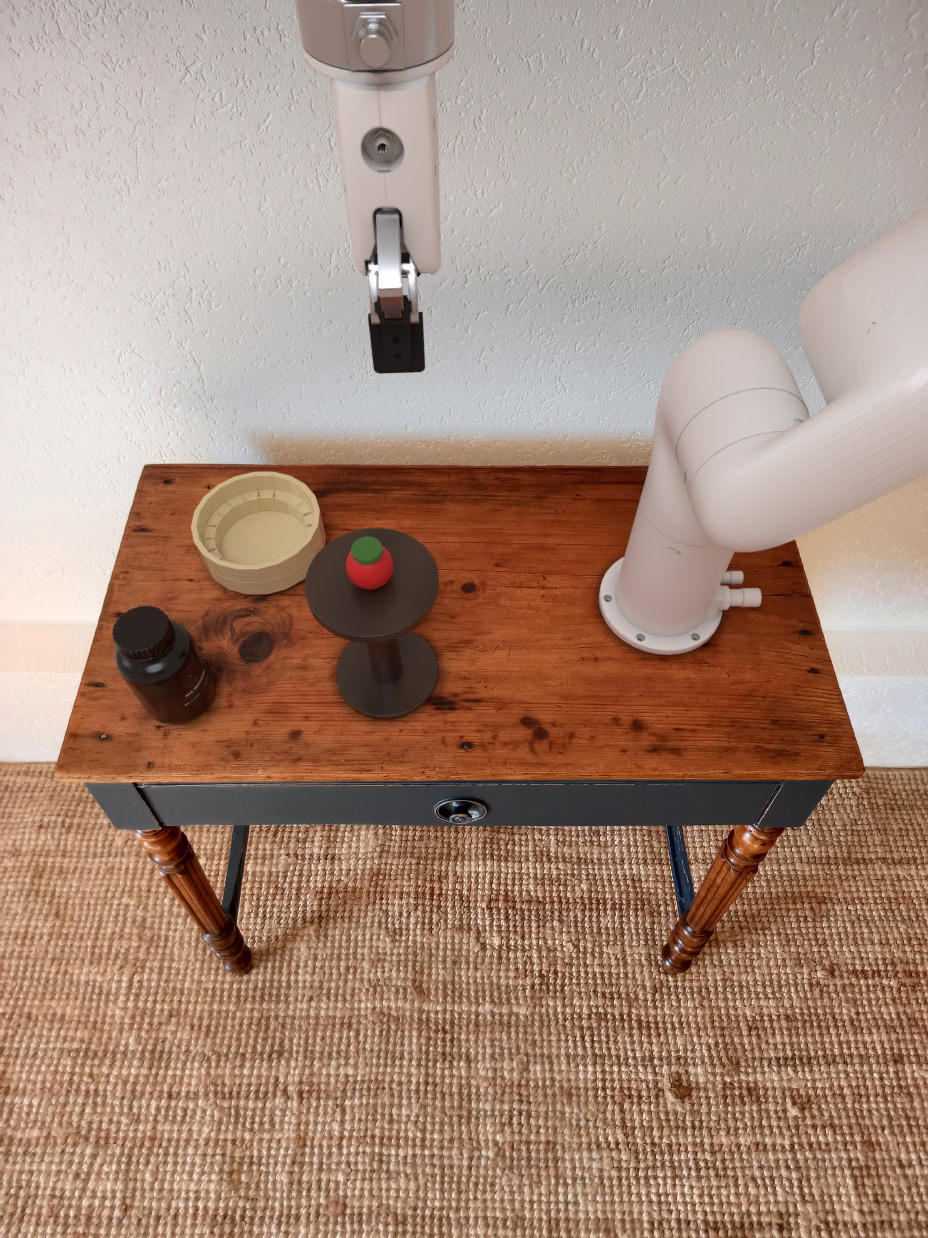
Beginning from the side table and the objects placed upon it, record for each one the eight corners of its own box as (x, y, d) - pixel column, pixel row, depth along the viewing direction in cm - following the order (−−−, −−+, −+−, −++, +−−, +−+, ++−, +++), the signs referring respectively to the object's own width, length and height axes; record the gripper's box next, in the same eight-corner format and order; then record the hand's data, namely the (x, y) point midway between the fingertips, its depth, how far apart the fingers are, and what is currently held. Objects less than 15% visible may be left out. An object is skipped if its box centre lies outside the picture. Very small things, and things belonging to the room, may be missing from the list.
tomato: (396, 560, 67) (392, 528, 63) (394, 598, 65) (390, 567, 61) (350, 561, 67) (343, 529, 63) (347, 599, 65) (340, 568, 61)
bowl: (330, 501, 91) (324, 470, 87) (320, 596, 84) (313, 568, 80) (214, 502, 91) (202, 471, 87) (195, 598, 84) (181, 569, 80)
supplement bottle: (218, 719, 76) (181, 655, 66) (145, 733, 76) (96, 670, 66) (215, 658, 80) (179, 589, 70) (145, 671, 79) (99, 603, 69)
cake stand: (443, 626, 82) (439, 526, 69) (443, 724, 76) (438, 636, 63) (336, 627, 82) (311, 528, 69) (327, 725, 76) (298, 637, 63)
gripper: (464, 101, 34) (462, 409, 48) (446, -55, 43) (450, 242, 58) (285, 105, 34) (337, 414, 48) (307, -53, 43) (345, 245, 57)
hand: (399, 320), depth 53 cm, fingers open, 9 cm apart
